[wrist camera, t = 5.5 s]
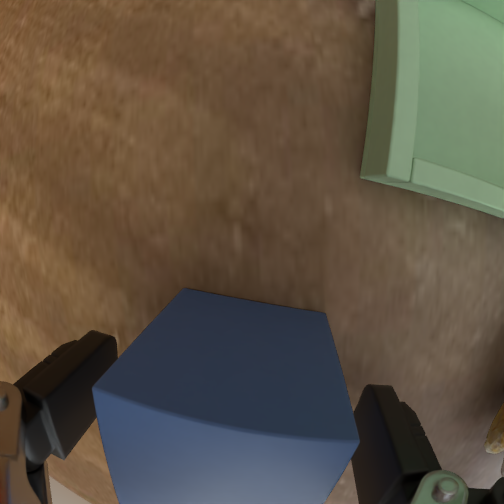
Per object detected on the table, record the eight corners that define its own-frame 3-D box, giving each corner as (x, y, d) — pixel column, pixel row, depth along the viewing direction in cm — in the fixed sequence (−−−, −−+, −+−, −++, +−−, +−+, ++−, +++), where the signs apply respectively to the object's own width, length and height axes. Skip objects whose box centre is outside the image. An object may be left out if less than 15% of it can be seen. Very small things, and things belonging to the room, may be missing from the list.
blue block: (326, 312, 9) (361, 442, 4) (295, 419, 10) (294, 545, 5) (183, 286, 10) (90, 386, 4) (176, 396, 11) (120, 509, 5)
